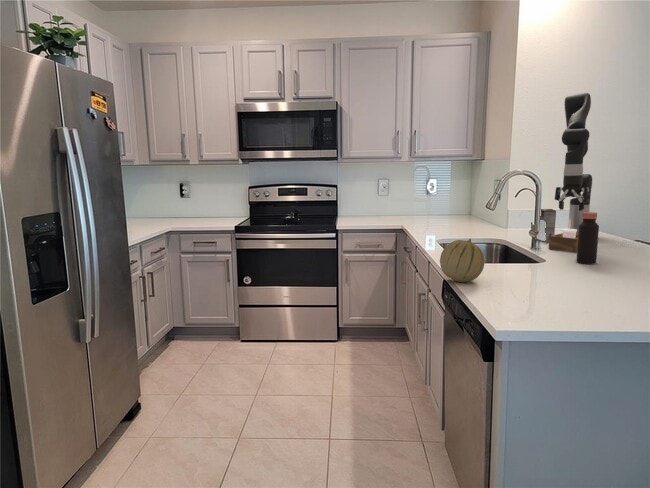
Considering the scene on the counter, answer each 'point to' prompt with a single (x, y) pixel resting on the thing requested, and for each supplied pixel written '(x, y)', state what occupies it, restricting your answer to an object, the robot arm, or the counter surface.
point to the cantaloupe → (462, 261)
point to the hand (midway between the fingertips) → (570, 210)
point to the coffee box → (549, 222)
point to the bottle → (588, 239)
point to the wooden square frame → (563, 243)
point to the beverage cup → (569, 232)
